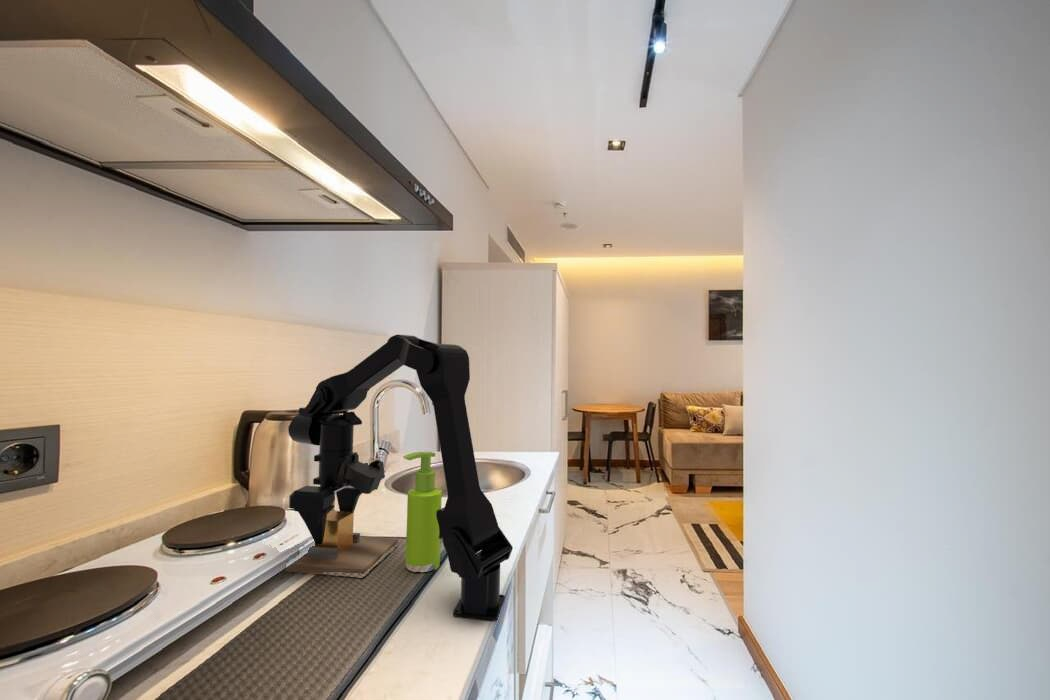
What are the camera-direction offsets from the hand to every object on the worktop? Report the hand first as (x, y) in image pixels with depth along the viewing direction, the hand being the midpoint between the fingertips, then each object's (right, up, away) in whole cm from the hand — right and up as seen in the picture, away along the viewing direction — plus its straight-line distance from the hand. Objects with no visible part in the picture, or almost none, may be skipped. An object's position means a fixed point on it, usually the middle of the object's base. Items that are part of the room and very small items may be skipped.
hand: (333, 534), depth 87 cm
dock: (+2, -4, 0) cm, 5 cm away
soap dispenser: (+16, -5, -3) cm, 17 cm away
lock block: (0, -3, 0) cm, 3 cm away
